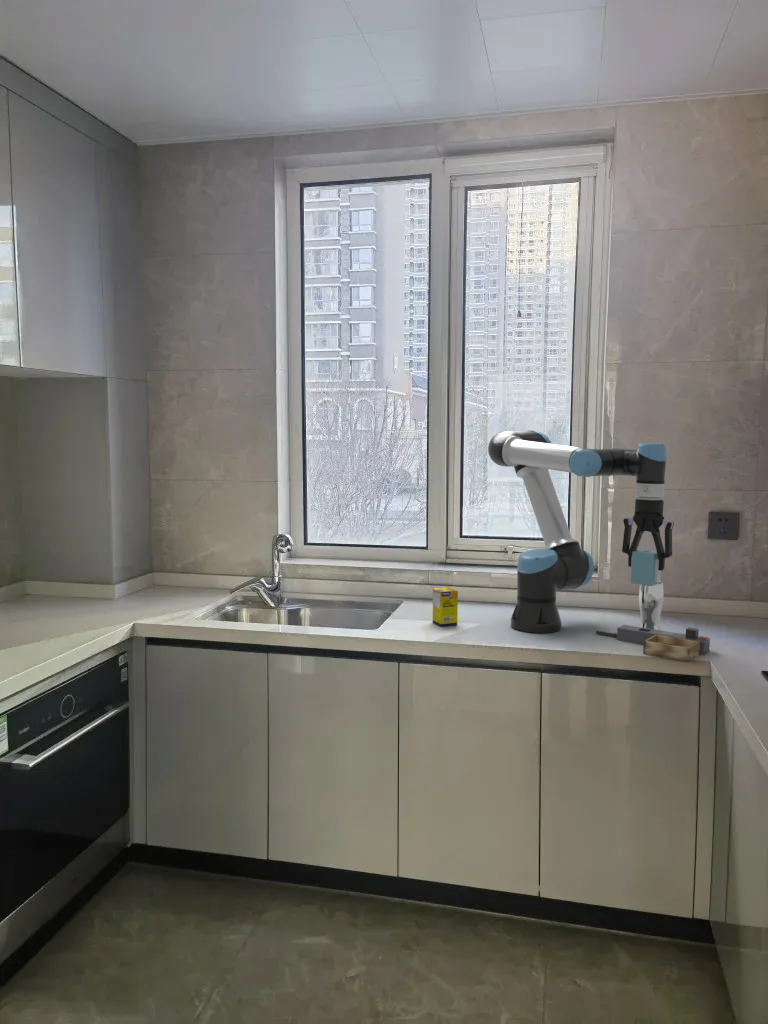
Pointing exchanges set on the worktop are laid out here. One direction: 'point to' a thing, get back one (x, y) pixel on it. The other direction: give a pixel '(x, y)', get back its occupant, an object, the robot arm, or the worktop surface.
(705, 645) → the power strip
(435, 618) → the supplement box
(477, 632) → the worktop surface
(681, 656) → the tray
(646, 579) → the block
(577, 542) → the robot arm
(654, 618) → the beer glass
